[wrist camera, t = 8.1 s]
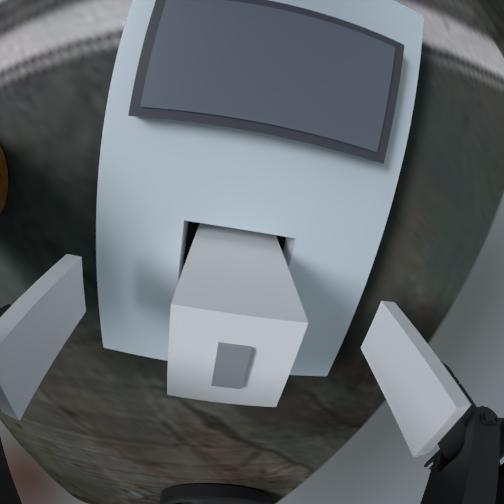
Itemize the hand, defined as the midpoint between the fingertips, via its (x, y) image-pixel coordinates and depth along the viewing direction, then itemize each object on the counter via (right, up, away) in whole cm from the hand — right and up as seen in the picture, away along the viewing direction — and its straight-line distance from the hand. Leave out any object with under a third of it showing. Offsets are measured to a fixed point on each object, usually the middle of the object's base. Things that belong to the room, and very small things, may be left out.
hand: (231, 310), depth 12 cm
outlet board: (+1, +6, +3) cm, 7 cm away
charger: (0, +2, +4) cm, 5 cm away
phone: (+2, +10, -1) cm, 10 cm away
